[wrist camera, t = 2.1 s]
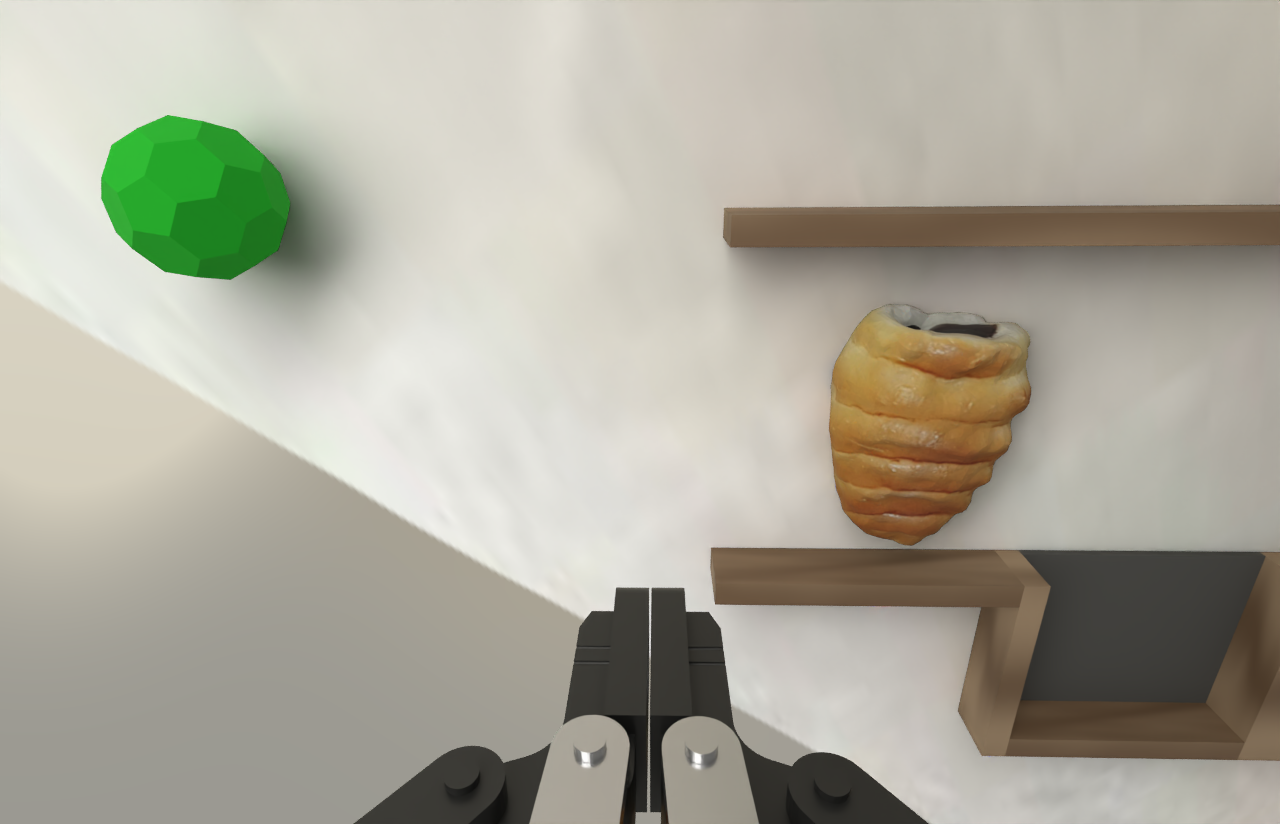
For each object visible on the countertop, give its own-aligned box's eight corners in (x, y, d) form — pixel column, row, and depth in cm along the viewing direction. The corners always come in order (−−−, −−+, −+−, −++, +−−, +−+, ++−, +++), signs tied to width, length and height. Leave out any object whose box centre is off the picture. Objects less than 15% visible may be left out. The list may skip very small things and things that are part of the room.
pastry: (957, 527, 28) (999, 582, 24) (798, 514, 28) (817, 567, 24) (1020, 309, 24) (1080, 336, 21) (838, 295, 25) (867, 320, 21)
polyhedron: (313, 134, 23) (229, 131, 18) (316, 276, 24) (241, 305, 20) (165, 108, 22) (44, 99, 18) (180, 253, 24) (73, 277, 20)
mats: (1018, 550, 28) (1021, 554, 28) (1580, 554, 27) (1590, 558, 27) (982, 694, 31) (985, 699, 31) (1489, 701, 30) (1496, 706, 30)
